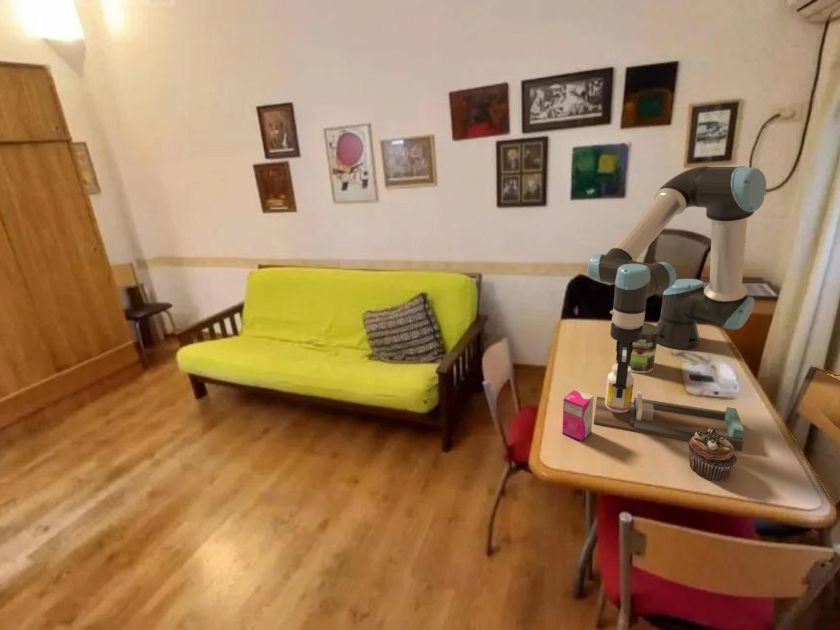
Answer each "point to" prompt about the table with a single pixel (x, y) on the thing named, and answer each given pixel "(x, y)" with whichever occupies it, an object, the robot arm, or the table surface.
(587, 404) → the supplement box
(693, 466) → the cupcake
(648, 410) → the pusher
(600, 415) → the dispenser stand
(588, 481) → the table surface
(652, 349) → the coffee can
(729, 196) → the robot arm
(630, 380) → the supplement bottle
